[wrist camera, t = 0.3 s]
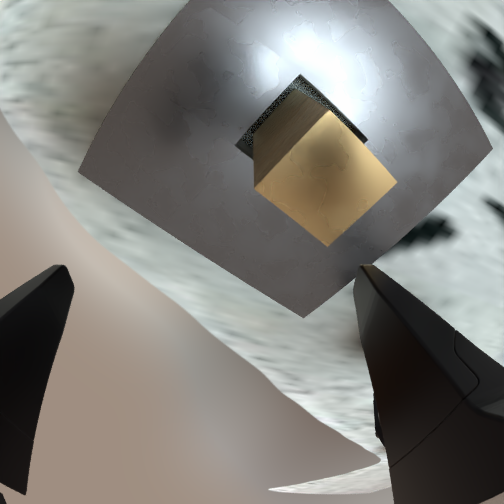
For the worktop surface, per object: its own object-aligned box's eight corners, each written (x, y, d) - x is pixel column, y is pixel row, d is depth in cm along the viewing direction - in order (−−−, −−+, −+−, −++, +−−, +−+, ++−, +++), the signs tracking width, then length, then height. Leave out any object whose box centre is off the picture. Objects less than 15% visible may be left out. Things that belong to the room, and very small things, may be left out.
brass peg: (340, 129, 18) (397, 182, 11) (298, 171, 20) (327, 246, 13) (294, 88, 17) (329, 109, 10) (252, 133, 19) (253, 188, 11)
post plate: (473, 138, 18) (493, 148, 16) (300, 297, 27) (303, 318, 24) (278, -67, 10) (282, -83, 8) (94, 159, 19) (77, 171, 17)
